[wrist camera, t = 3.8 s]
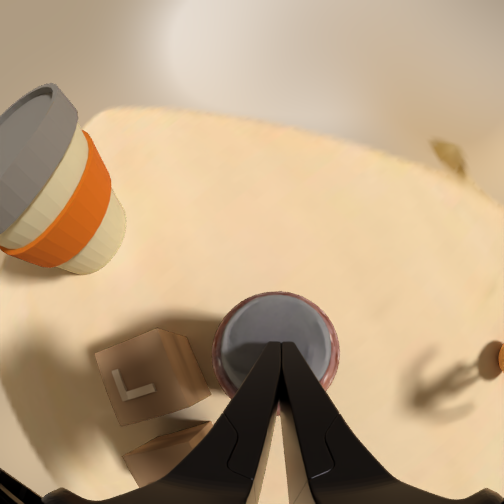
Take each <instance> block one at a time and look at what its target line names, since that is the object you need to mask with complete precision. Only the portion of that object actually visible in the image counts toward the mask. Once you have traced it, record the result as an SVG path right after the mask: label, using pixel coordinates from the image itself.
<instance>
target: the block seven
mask: <svg viewBox="0 0 504 504" xmlns="http://www.w3.org/2000/svg"><path fill="white" fill-rule="evenodd" d="M94 354H95V357H96V361H97V364H98V367H99V370H100V373H101V376H102V379H103V382H104V385H105V388H106V391H107V394H108V396H109V399H110V402H111V404H112V407H113V409H114V412H115V414H116V416H117V419H118V421H119V424H120V426H125V425H129V424H133V423H137V422H141V421H144V420H148V419H152V418H155V417H159V416H162V415H165V414H169V413H172V412H175V411H178V410H182V409H185V408H188V407H190V406H192V405H194V404H196V403H198V402H199V401H201V400H203V399H205V398H207V397H208V396H210V395H211V392H210V390H209V388H208V386H207V384H206V381H205V379H204V377H203V375H202V373H201V370H200V368H199V366H198V363H197V361H196V359H195V356H194V354H193V351H192V349H191V347H190V344H189V342H188V339H187V337H185V336H182V335H178V334H175V333H172V332H169V331H165V330H162V329H159V328H155V329H153V330H151V331H148V332H146V333H143V334H141V335H139V336H136V337H134V338H131V339H129V340H127V341H124V342H122V343H119V344H117V345H114V346H112V347H109V348H107V349H104V350H102V351H99V352H97V353H94Z"/></svg>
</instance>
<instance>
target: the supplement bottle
mask: <svg viewBox="0 0 504 504" xmlns="http://www.w3.org/2000/svg"><path fill="white" fill-rule="evenodd" d="M269 341H279V342H281V343H282V342H283V341H292V342H294V343H295V344H296V346H297V347H298V349H299V351H300V352H301V354H302V355H303V357H304V358H305V360H306V362H307V363H308V365H309V366H310V368H311V369H312V371H313V372H314V374H315V376H316V377H317V379H318V380H319V382H320V383H321V385H322V387H323V388H324V390H325V391H326V390H327V389H328V388H329V386H330V385H331V383H332V381H333V379H334V377H335V375H336V372H337V369H338V364H339V358H340V349H339V341H338V337H337V334H336V331H335V329H334V326H333V324H332V323H331V321H330V320H329V318H328V317H327V315H326V314H325V313H324V312H323V310H321V309H320V308H319V307H318V306H317V305H316V304H314V303H312V302H311V301H309V300H308V299H306V298H304V297H302V296H299V295H296V294H293V293H289V292H282V291H279V292H266V293H261V294H258V295H254V296H252V297H249V298H247V299H245V300H244V301H241V302H240V303H239V304H237V305H236V306H235V307H234V308H233V309H232V310H231V311H230V312H229V313H228V314H227V315H226V316H225V317H224V318H223V321H222V322H221V323H220V325H219V327H218V329H217V332H216V334H215V337H214V341H213V346H212V364H213V368H214V372H215V375H216V378H217V380H218V382H219V384H220V386H221V387H222V389H223V390H224V392H225V393H226V394H227V395H228V396H229V397H230V398H231V399H232V398H233V396H234V395H235V393H236V392H237V390H238V389H239V387H240V386H241V384H242V383H243V381H244V380H245V378H246V377H247V375H248V373H249V372H250V370H251V369H252V367H253V366H254V364H255V362H256V361H257V359H258V358H259V356H260V354H261V353H262V351H263V349H264V348H265V346H266V345H267V343H268V342H269ZM279 415H280V407H279V402H278V409H277V415H276V416H279Z"/></svg>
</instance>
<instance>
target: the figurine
mask: <svg viewBox="0 0 504 504" xmlns="http://www.w3.org/2000/svg"><path fill="white" fill-rule="evenodd" d="M498 360H499V366H500V368H501V370H502V371H503V372H504V344H503V345H502V347H501V349H500V352H499V358H498Z"/></svg>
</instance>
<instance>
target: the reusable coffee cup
mask: <svg viewBox="0 0 504 504" xmlns="http://www.w3.org/2000/svg"><path fill="white" fill-rule="evenodd" d="M125 231H126V214H125V211H124V208H123V207H122V205H121V203H120V201H119V200H118V198H117V196H116V194H115V193H114V191H113V189H112V187H111V179H110V175H109V173H108V171H107V169H106V167H105V165H104V163H103V161H102V159H101V157H100V155H99V153H98V151H97V149H96V147H95V145H94V143H93V141H92V139H91V137H90V136H89V134H88V133H87V132H85V131H83V130H81V128H80V125H79V123H78V112H77V110H76V108H75V107H74V106H73V104H72V103H71V102H70V101H69V100H68V98H67V97H66V96H65V95H64V94H63V92H61V90H60V89H59V88H58V86H57V85H56V84H53V83H50V84H45V85H42V86H39V87H38V88H35V89H34V90H32V91H30V92H29V93H27V94H26V95H24V96H23V97H21V98H20V99H19V100H17V101H16V102H15V103H14V104H12V105H11V106H10V107H9V108H8V109H7V110H6V111H5V112H4V113H3V114H2V115H1V116H0V249H1V250H2V251H3V252H5V253H6V254H8V255H11V256H14V257H16V258H19V259H22V260H24V261H27V262H30V263H33V264H36V265H38V266H41V267H49V268H50V267H58V268H61V269H64V270H67V271H70V272H73V273H76V274H81V275H86V274H91V273H93V272H96V271H98V270H99V269H101V268H102V267H104V266H105V265H106V264H107V263H108V262H109V261H110V260H111V259H112V258H113V257H114V255H115V254H116V252H117V251H118V249H119V247H120V246H121V243H122V241H123V238H124V235H125Z"/></svg>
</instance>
